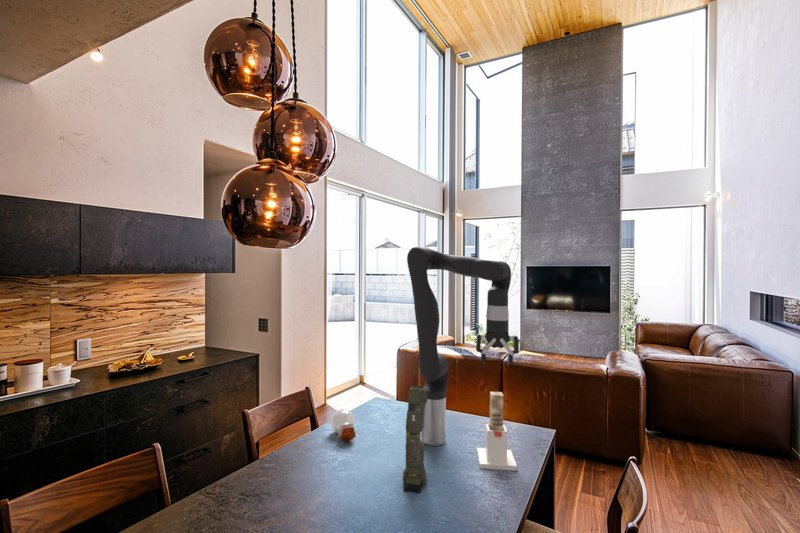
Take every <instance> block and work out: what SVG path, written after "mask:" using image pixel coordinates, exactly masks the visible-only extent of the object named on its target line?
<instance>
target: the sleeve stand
mask: <svg viewBox="0 0 800 533" xmlns="http://www.w3.org/2000/svg"><path fill="white" fill-rule="evenodd" d="M476 454H477V460H478V465H479V469H487V470H501V471H503V470H504V471H514V472H515V471H518V469H517V468H518V466H517V463H516V460H515V458H514V455H513V452H512V449H508V430H507V427H506V424H503V431H497V430H490V423H485V447H476Z"/></svg>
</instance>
